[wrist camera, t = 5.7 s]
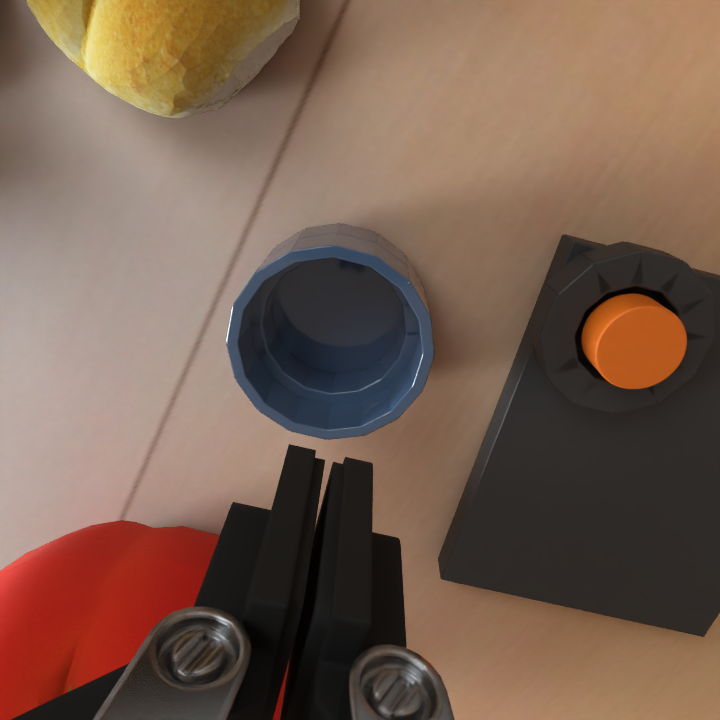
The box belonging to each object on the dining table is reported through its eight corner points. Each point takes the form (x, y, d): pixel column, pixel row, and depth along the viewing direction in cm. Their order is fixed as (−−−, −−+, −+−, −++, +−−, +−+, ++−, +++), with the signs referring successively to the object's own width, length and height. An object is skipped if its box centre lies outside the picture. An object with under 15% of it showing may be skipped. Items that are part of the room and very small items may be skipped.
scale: (555, 218, 22) (580, 233, 19) (881, 306, 23) (950, 332, 20) (428, 556, 28) (434, 604, 26) (689, 614, 29) (722, 666, 27)
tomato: (351, 634, 30) (336, 921, 20) (118, 706, 33) (-8, 996, 22) (226, 423, 26) (117, 645, 15) (-33, 526, 28) (-285, 779, 18)
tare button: (600, 283, 20) (617, 296, 19) (681, 304, 21) (704, 318, 19) (567, 360, 22) (581, 378, 20) (645, 380, 22) (664, 399, 20)
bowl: (271, 202, 22) (246, 222, 18) (445, 247, 23) (460, 277, 19) (240, 363, 25) (213, 413, 21) (397, 401, 25) (401, 457, 21)
